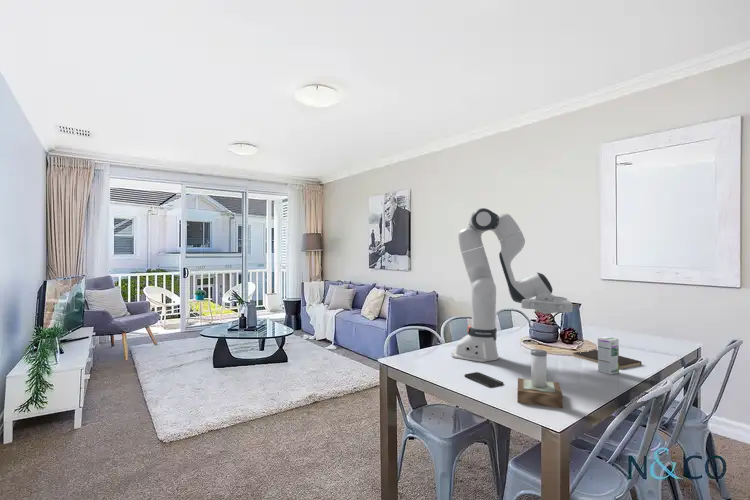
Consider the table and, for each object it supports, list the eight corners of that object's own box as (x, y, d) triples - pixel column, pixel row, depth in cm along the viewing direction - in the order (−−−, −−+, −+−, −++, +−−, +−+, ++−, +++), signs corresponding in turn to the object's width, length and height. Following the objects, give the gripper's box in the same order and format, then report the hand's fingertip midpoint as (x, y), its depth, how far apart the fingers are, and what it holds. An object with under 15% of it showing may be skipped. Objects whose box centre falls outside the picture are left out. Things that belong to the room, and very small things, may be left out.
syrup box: (611, 375, 164) (611, 340, 164) (597, 371, 169) (597, 337, 169) (619, 373, 167) (619, 338, 167) (605, 369, 172) (605, 336, 172)
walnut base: (517, 402, 135) (517, 389, 135) (517, 388, 148) (517, 377, 148) (562, 408, 130) (562, 394, 130) (558, 393, 143) (558, 381, 143)
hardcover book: (618, 370, 172) (618, 365, 172) (572, 357, 193) (572, 352, 193) (641, 366, 178) (641, 361, 178) (594, 353, 199) (594, 349, 199)
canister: (531, 386, 137) (531, 352, 137) (530, 382, 142) (530, 348, 142) (547, 388, 135) (547, 353, 136) (546, 383, 140) (546, 350, 140)
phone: (477, 371, 165) (504, 382, 152) (477, 374, 165) (504, 385, 152) (463, 374, 162) (489, 386, 148) (463, 377, 162) (489, 388, 148)
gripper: (521, 294, 181) (520, 298, 168) (570, 298, 173) (574, 302, 161) (520, 308, 181) (520, 313, 168) (570, 312, 174) (573, 317, 161)
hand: (547, 307), depth 164 cm, fingers open, 8 cm apart
